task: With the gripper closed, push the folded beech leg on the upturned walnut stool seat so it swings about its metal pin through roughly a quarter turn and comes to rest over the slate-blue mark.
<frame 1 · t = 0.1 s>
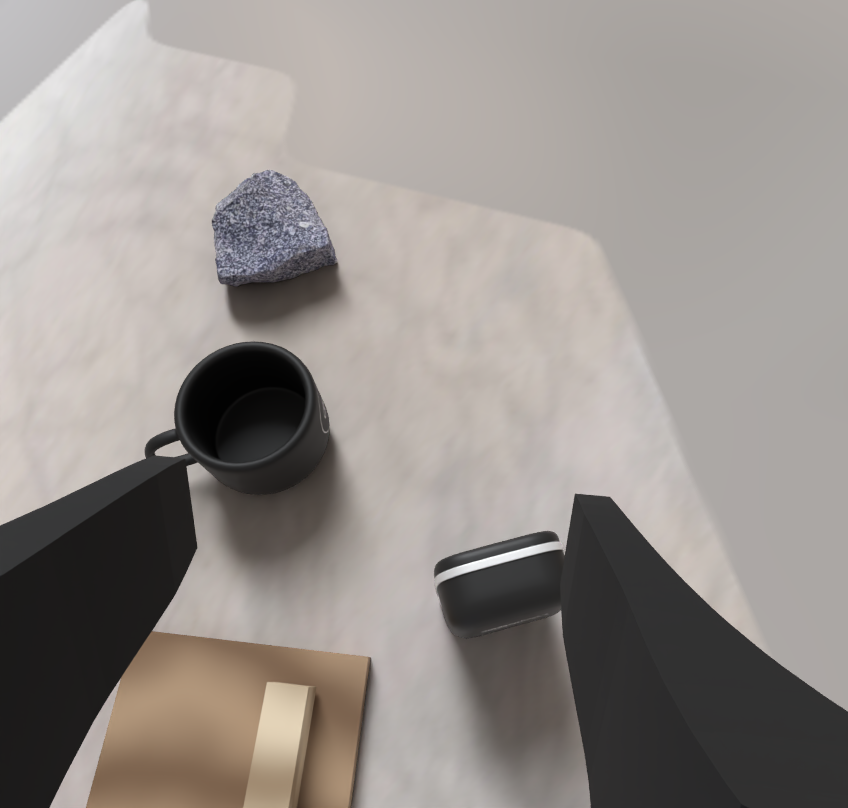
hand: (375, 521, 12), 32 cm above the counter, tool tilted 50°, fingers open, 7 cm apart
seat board: (224, 796, 38), on the counter
leg: (272, 793, 35), point 3 cm above the counter, hinge at 0.0°
mug: (253, 449, 47), on the counter
battery charger: (493, 605, 42), on the counter
rock: (267, 245, 54), on the counter
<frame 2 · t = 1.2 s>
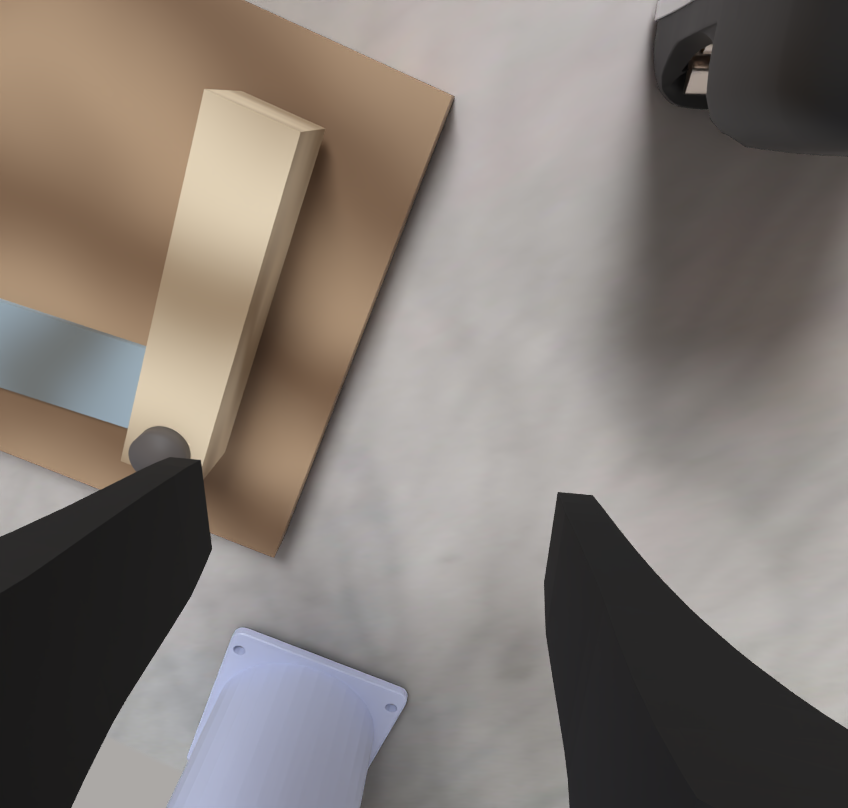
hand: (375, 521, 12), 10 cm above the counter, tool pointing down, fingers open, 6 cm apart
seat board: (144, 265, 21), on the counter
leg: (212, 308, 18), point 3 cm above the counter, hinge at 0.0°
battery charger: (772, 60, 17), on the counter
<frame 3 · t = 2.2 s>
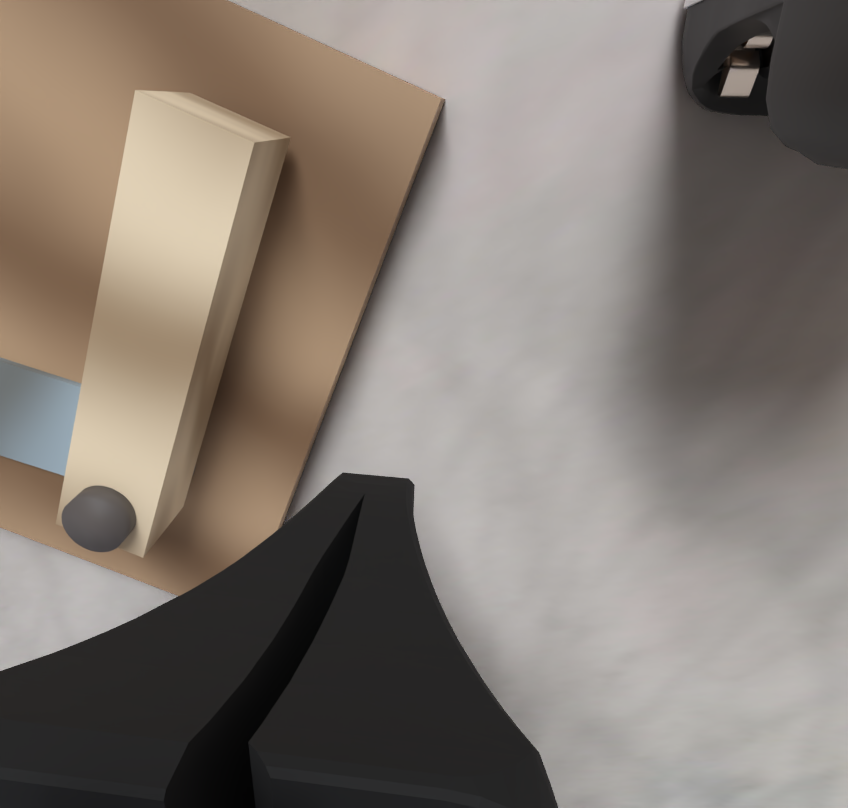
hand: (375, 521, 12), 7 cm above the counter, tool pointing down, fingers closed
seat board: (88, 293, 18), on the counter
leg: (158, 349, 15), point 3 cm above the counter, hinge at 0.0°
battery charger: (822, 57, 14), on the counter
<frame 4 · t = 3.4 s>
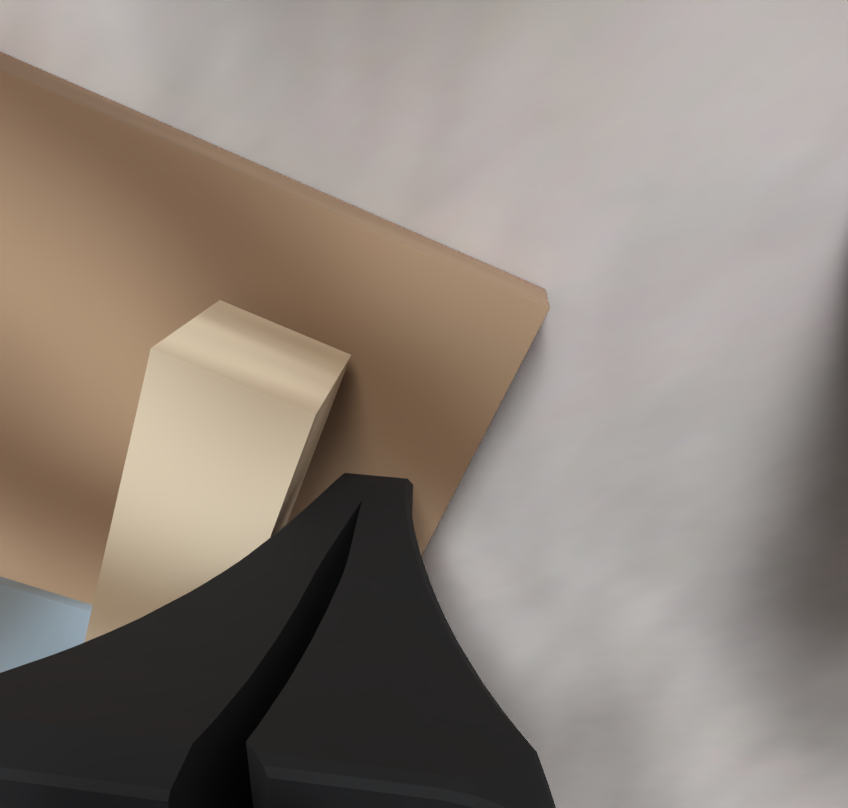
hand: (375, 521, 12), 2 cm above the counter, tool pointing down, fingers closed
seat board: (88, 489, 15), on the counter
leg: (178, 610, 12), point 3 cm above the counter, hinge at 0.0°, touching gripper
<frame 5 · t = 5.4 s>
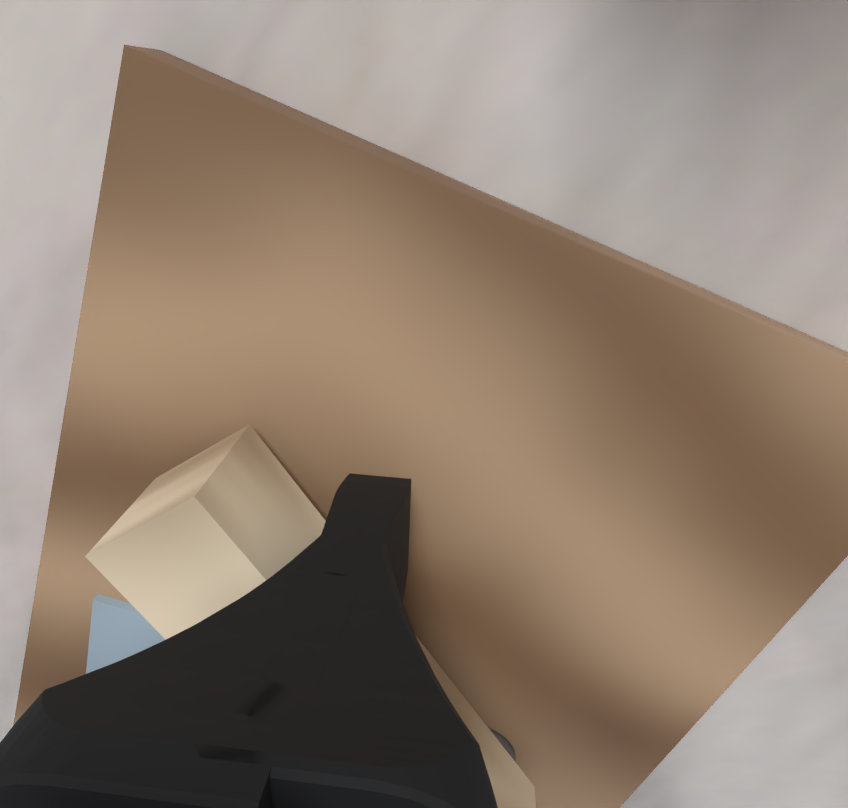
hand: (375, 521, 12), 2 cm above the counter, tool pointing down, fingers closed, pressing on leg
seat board: (395, 569, 15), on the counter
leg: (349, 706, 13), point 3 cm above the counter, hinge at 54.2°, touching gripper
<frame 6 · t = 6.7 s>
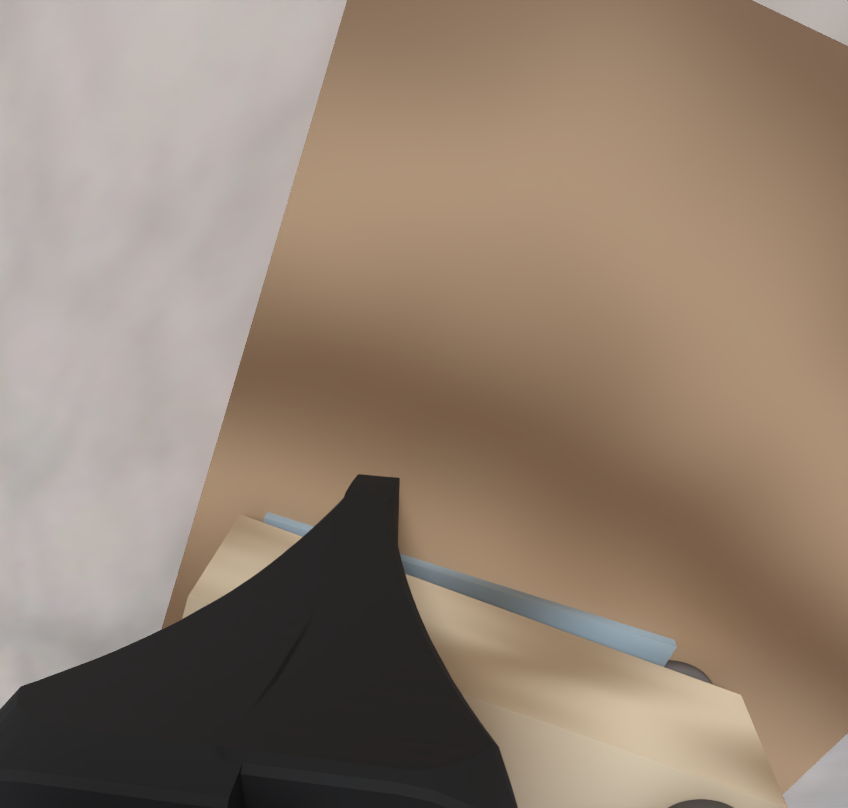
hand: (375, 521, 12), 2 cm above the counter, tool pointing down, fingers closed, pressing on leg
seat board: (589, 488, 14), on the counter
leg: (471, 705, 12), point 3 cm above the counter, hinge at 92.0°, touching gripper
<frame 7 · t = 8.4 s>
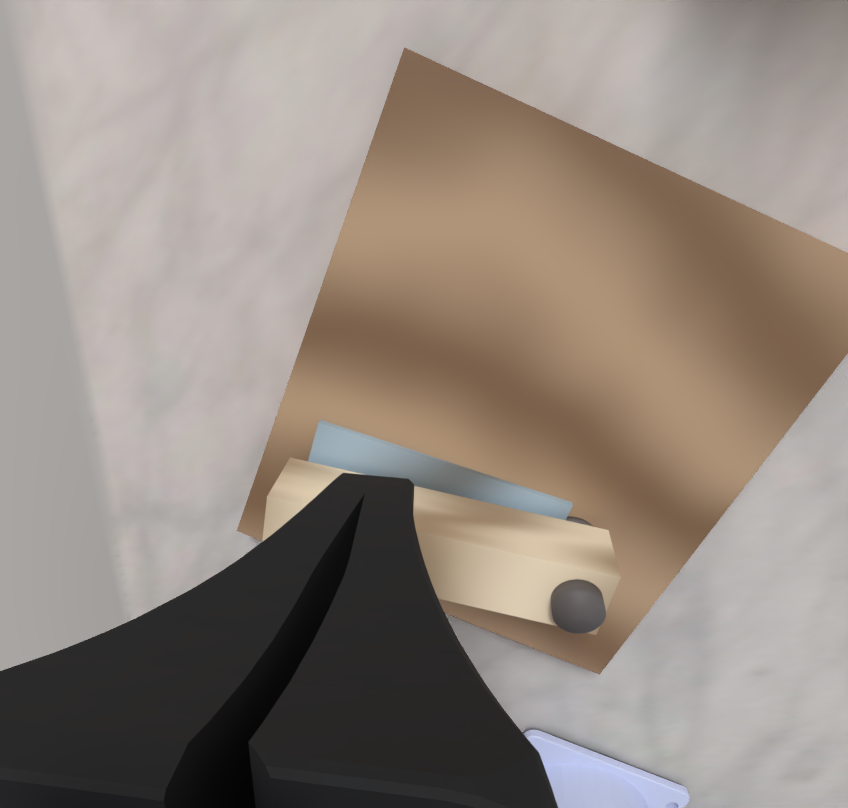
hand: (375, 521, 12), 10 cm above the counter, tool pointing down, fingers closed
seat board: (520, 407, 22), on the counter
leg: (437, 549, 21), point 3 cm above the counter, hinge at 101.1°
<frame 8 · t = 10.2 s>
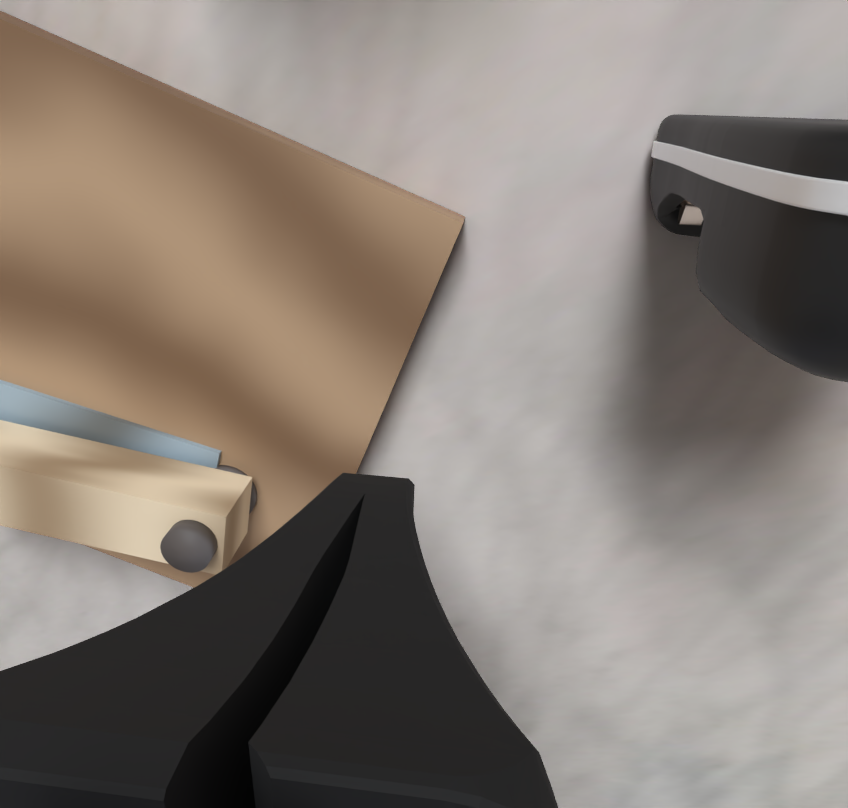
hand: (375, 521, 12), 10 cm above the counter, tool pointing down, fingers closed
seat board: (171, 359, 23), on the counter
leg: (74, 494, 22), point 3 cm above the counter, hinge at 101.1°
battery charger: (760, 189, 19), on the counter
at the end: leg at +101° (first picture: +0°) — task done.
